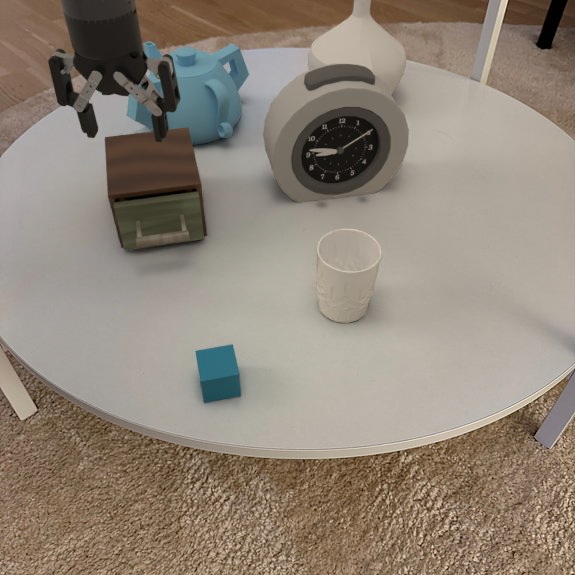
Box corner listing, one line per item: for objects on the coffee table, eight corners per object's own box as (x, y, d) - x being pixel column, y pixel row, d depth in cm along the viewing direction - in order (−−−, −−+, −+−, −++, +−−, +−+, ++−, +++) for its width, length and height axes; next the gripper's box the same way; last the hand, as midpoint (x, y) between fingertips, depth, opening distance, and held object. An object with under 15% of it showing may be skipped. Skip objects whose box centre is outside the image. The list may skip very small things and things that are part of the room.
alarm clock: (272, 205, 95) (271, 89, 80) (263, 177, 100) (261, 63, 85) (400, 189, 98) (421, 74, 84) (385, 163, 103) (403, 50, 89)
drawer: (209, 261, 84) (204, 219, 79) (126, 274, 83) (115, 231, 77) (192, 184, 97) (187, 142, 91) (120, 193, 95) (110, 151, 89)
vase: (419, 99, 118) (437, -3, 104) (356, 133, 109) (367, 28, 95) (350, 66, 127) (358, -31, 113) (287, 96, 118) (288, -6, 104)
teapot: (250, 100, 117) (247, 29, 107) (236, 157, 104) (230, 82, 94) (153, 95, 118) (141, 24, 108) (127, 150, 105) (110, 76, 95)
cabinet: (207, 235, 90) (201, 183, 83) (121, 248, 88) (107, 195, 81) (194, 178, 99) (188, 127, 92) (117, 188, 97) (104, 136, 90)
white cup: (381, 297, 81) (392, 242, 74) (356, 336, 77) (364, 281, 69) (330, 275, 84) (335, 220, 77) (302, 311, 79) (305, 257, 72)
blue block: (203, 403, 70) (200, 381, 66) (198, 372, 72) (195, 350, 69) (241, 396, 70) (239, 374, 67) (234, 366, 73) (232, 343, 70)
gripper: (19, 14, 61) (61, 150, 73) (156, 20, 60) (177, 157, 72) (45, -14, 66) (81, 117, 78) (173, -9, 66) (189, 123, 77)
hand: (127, 136), depth 75 cm, fingers open, 8 cm apart
